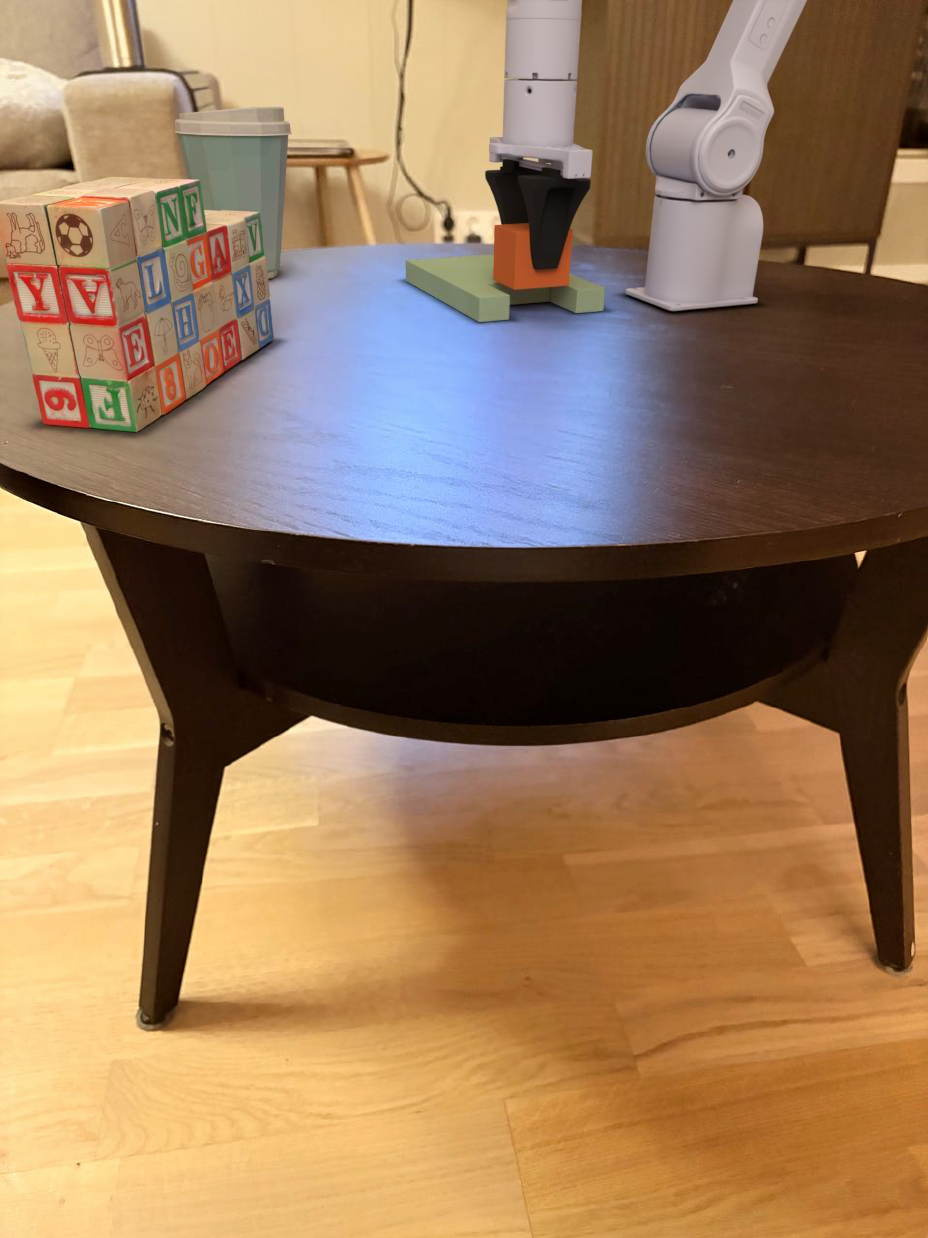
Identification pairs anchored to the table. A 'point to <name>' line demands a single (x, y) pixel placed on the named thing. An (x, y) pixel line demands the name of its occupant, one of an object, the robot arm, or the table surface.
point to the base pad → (493, 288)
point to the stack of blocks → (132, 296)
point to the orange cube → (525, 260)
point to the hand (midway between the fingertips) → (531, 263)
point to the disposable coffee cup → (240, 165)
